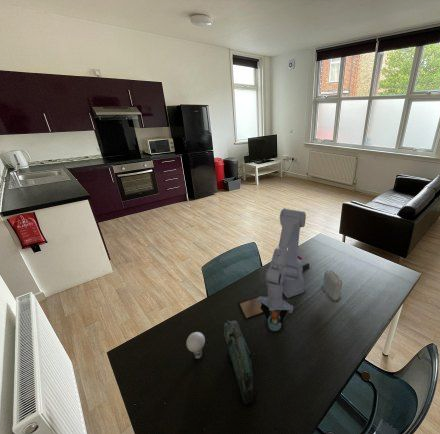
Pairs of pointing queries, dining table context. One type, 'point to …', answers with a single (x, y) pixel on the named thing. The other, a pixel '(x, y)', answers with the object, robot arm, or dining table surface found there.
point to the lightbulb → (196, 343)
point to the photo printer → (332, 284)
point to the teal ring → (274, 327)
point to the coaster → (251, 308)
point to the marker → (274, 318)
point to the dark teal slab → (240, 359)
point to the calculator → (305, 263)
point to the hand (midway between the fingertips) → (274, 319)
